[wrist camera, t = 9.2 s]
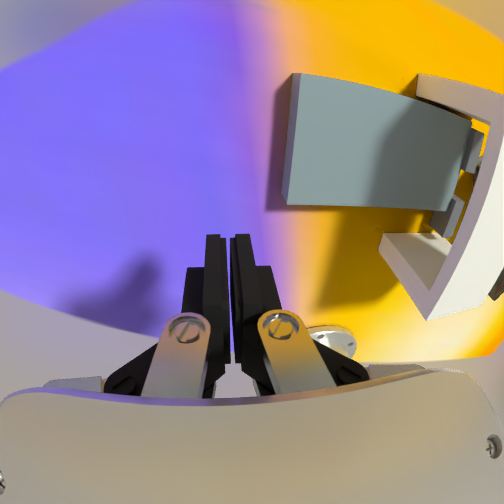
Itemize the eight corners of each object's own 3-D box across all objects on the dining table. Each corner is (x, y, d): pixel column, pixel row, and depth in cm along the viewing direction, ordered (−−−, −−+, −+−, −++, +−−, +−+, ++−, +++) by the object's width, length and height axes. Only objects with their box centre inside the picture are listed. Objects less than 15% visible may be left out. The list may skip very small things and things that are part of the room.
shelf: (433, 247, 26) (480, 305, 19) (377, 250, 25) (425, 321, 18) (476, 99, 16) (551, 133, 9) (418, 73, 15) (510, 97, 8)
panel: (432, 199, 23) (447, 211, 21) (279, 190, 21) (286, 204, 19) (454, 114, 18) (472, 121, 16) (290, 72, 16) (300, 73, 14)
